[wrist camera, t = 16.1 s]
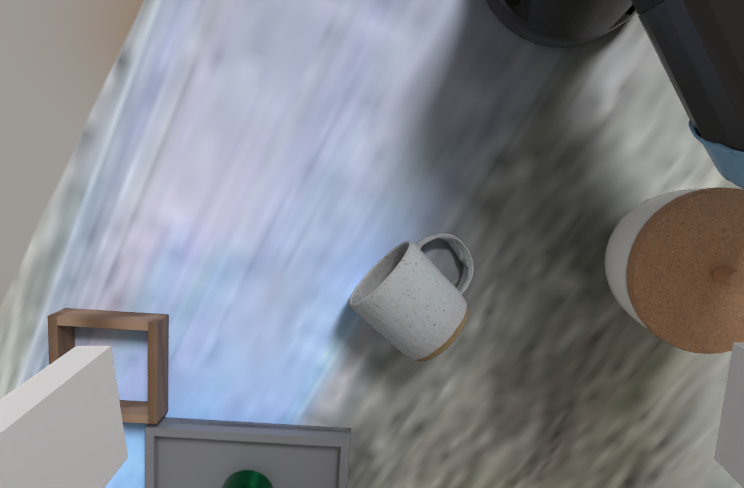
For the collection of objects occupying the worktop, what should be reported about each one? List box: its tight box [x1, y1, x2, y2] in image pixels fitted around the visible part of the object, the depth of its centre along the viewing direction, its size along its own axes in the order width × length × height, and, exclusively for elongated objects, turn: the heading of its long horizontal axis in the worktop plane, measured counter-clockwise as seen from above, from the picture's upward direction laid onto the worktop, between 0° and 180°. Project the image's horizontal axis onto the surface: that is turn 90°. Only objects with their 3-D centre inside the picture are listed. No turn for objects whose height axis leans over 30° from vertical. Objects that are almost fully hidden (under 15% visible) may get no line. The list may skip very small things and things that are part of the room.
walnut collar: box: [48, 308, 169, 424], centre depth 45 cm, size 10×10×2 cm
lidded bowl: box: [605, 188, 744, 354], centre depth 40 cm, size 13×13×11 cm
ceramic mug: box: [349, 233, 474, 361], centre depth 42 cm, size 11×8×8 cm
